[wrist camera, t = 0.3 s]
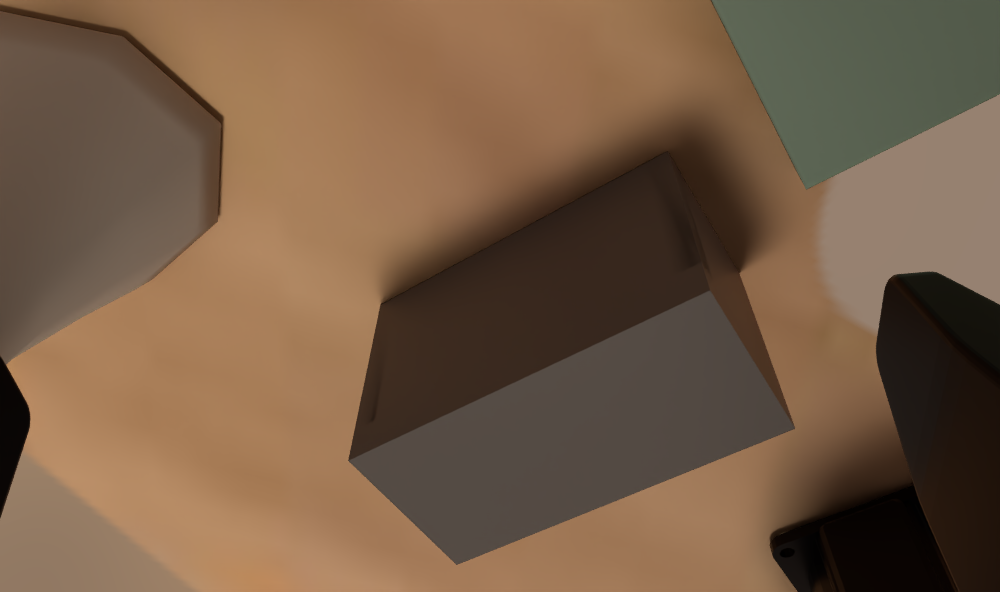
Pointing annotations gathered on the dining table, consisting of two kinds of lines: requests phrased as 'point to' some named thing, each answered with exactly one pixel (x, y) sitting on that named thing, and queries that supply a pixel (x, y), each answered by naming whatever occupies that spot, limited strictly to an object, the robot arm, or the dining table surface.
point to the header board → (863, 71)
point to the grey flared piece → (91, 174)
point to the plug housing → (565, 369)
